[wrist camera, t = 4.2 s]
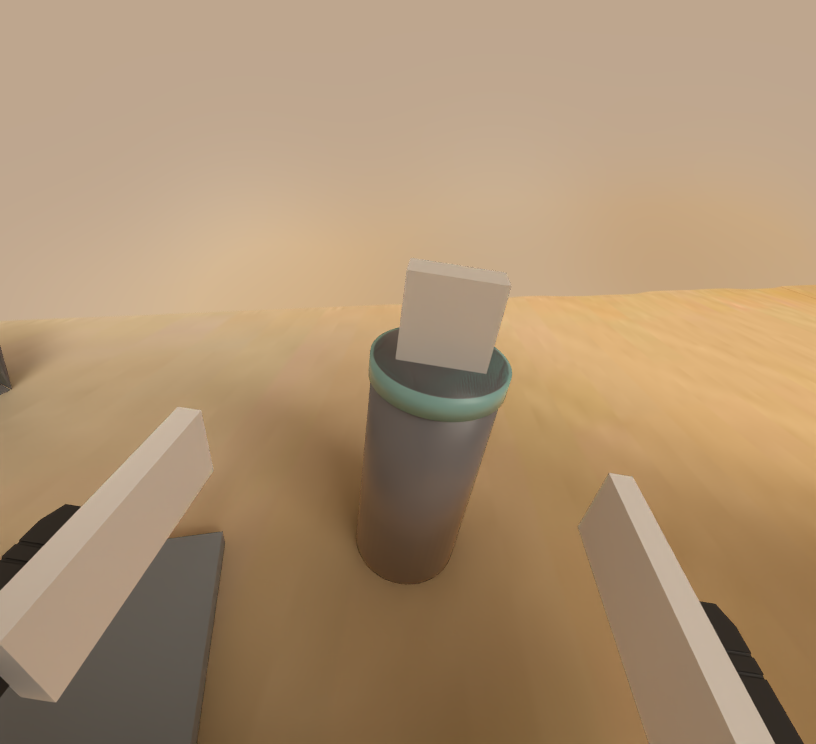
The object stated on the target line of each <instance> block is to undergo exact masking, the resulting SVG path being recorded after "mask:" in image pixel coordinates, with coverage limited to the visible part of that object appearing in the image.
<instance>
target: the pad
mask: <svg viewBox="0 0 816 744" xmlns="http://www.w3.org/2000/svg"><path fill="white" fill-rule="evenodd" d="M224 545H225V541H224V536H223V531H222V532H215V533H207V534H200V535H192V536H185V537H177V538H170V539H167V540H166V542H165V543H164V545H163V546H162V547H161V549H160V550H159V552H158V553H157V555H156V556H155V558H154V559H153V561H152V562H151V564H150V565H149V567H148V568H147V570H146V571H145V572H144V574H143V575H142V577H141V578H140V580H139V581H138V583H137V584H136V586H135V587H134V589H133V590H132V592H131V593H130V595H129V596H128V598H127V599H126V600H125V602H124V603H123V605H122V606H121V608H120V609H119V611H118V612H117V614H116V615H115V617H114V618H113V620H112V621H111V623H110V624H109V626H108V627H107V628H106V630H105V631H104V633H103V634H102V636H101V637H100V639H99V640H98V642H97V643H96V645H95V646H94V648H93V649H92V651H91V652H90V653H89V655H88V656H87V658H86V659H85V661H84V662H83V664H82V665H81V667H80V668H79V670H78V671H77V673H76V674H75V676H74V677H73V679H72V680H71V681H70V683H69V684H68V686H67V687H66V689H65V690H64V692H63V693H62V695H61V696H60V698H59V699H58V701H57V702H56V703H55V702H49V701H42V700H36V699H29V698H23V697H20V696H19V695H18V694H17V693H16V692H15V691H14V690H13V689H11V688H10V687H8V688H7V690H6V691H5V692H4V693H3V695H2V696H1V697H0V744H197V737H198V730H199V723H200V716H201V709H202V702H203V694H204V687H205V680H206V673H207V666H208V659H209V652H210V645H211V638H212V631H213V623H214V616H215V609H216V602H217V595H218V588H219V581H220V574H221V567H222V560H223V553H224Z"/></svg>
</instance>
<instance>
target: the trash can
mask: <svg viewBox="0 0 816 744" xmlns="http://www.w3.org/2000/svg"><path fill="white" fill-rule="evenodd" d="M510 289H511V284H510V281H509V278H508V276H507V273H504V272H498V271H492V270H485V269H479V268H473V267H466V266H459V265H453V264H447V263H441V262H434V261H428V260H421V259H415V258H411V259H410V262H409V265H408V268H407V273H406V281H405V288H404V296H403V304H402V312H401V320H400V327H399V328H395V329H392V330H389V331H387V332H385V333H383V334H382V335H380V336H379V337H378V338H377V339H376V340H375V341H374V342H373V344H372V346H371V350H370V360H369V379H370V393H369V404H368V415H367V426H366V437H365V448H364V458H363V469H362V480H361V491H360V502H359V513H358V524H357V546H358V549H359V552H360V555H361V557H362V558H363V560H364V562H365V563H366V564H367V565H368V567H369V568H370V569H371V570H372V571H373V572H375V573H376V574H378V575H379V576H380V577H382V578H384V579H386V580H389V581H392V582H395V583H399V584H416V583H421V582H424V581H427V580H429V579H431V578H433V577H435V576H436V575H438V574H439V573H440V572H441V571H442V570H443V569H444V567H445V566H446V564H447V563H448V561H449V559H450V556H451V553H452V550H453V547H454V544H455V541H456V538H457V535H458V532H459V529H460V525H461V522H462V519H463V516H464V513H465V510H466V507H467V504H468V501H469V498H470V494H471V491H472V488H473V485H474V482H475V479H476V476H477V473H478V470H479V467H480V464H481V460H482V457H483V454H484V451H485V448H486V445H487V442H488V439H489V436H490V433H491V430H492V426H493V423H494V420H495V417H496V414H497V411H498V408H499V407H500V406H501V405H502V403H503V401H504V399H505V396H506V393H507V390H508V387H509V384H510V381H511V378H512V369H511V366H510V364H509V362H508V360H507V359H506V357H505V356H504V355H503V354H502V353H501V352H500V351H499V350H498V349H497V348H495V347H494V345H495V342H496V338H497V335H498V331H499V328H500V324H501V321H502V317H503V314H504V310H505V307H506V303H507V300H508V296H509V293H510Z"/></svg>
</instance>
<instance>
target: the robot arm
mask: <svg viewBox="0 0 816 744" xmlns="http://www.w3.org/2000/svg"><path fill="white" fill-rule="evenodd" d="M213 471H214V469H213V465H212V460H211V455H210V450H209V445H208V440H207V435H206V430H205V425H204V421H203V416H202V411H201V410H197V409H190V408H184V407H177V408H176V409H175V410H174V411H173V412H172V413H171V414H170V415H169V416H168V417H167V418H166V419H165V420H164V421H163V422H162V423H161V424H160V425H159V427H158V428H157V429H156V430H155V431H154V432H153V433H152V434H151V435H150V436H149V437H148V438H147V439H146V440H145V441H144V442H143V443H142V444H141V445H140V446H139V447H138V448H137V449H136V450H135V451H134V452H133V454H132V455H131V456H130V457H129V458H128V459H127V460H126V461H125V462H124V463H123V464H122V465H121V466H120V467H119V468H118V469H117V470H116V471H115V472H114V473H113V474H112V475H111V476H110V477H109V478H108V479H107V480H106V482H105V483H104V484H103V485H102V486H101V487H100V488H99V489H98V490H97V491H96V492H95V493H94V494H93V495H92V496H91V497H90V498H89V499H88V500H87V501H86V502H85V503H84V504H83V505H82V506H81V507H80V506H74V505H67V504H65V505H64V506H62V507H60V508H59V509H57V510H55V511H54V512H52V513H51V514H49V515H47V516H46V517H44V518H43V519H41V520H40V521H39V522H37V523H36V524H35V525H34V526H33V527H32V528H31V529H30V530H29V531H28V532H27V533H26V534H25V535H24V536H23V537H22V538H21V539H20V540H19V543H18V544H15V545H14V546H13V547H12V548H11V549H9V550H8V551H7V552H6V553H5V554H4V555H3V556H2V559H1V560H0V697H1V696H2V695H3V693H4V692H5V691H6V690H7V688H8V687H10V688H11V689H13V690H14V691H15V692H16V693H17V694H18V695H19V696H20V697H23V698H29V699H36V700H42V701H49V702H55V703H56V702H57V701H58V699H59V698H60V696H61V695H62V693H63V692H64V690H65V689H66V687H67V686H68V684H69V683H70V681H71V680H72V679H73V677H74V676H75V674H76V673H77V671H78V670H79V668H80V667H81V665H82V664H83V662H84V661H85V659H86V658H87V656H88V655H89V653H90V652H91V651H92V649H93V648H94V646H95V645H96V643H97V642H98V640H99V639H100V637H101V636H102V634H103V633H104V631H105V630H106V628H107V627H108V626H109V624H110V623H111V621H112V620H113V618H114V617H115V615H116V614H117V612H118V611H119V609H120V608H121V606H122V605H123V603H124V602H125V600H126V599H127V598H128V596H129V595H130V593H131V592H132V590H133V589H134V587H135V586H136V584H137V583H138V581H139V580H140V578H141V577H142V575H143V574H144V572H145V571H146V570H147V568H148V567H149V565H150V564H151V562H152V561H153V559H154V558H155V556H156V555H157V553H158V552H159V550H160V549H161V547H162V546H163V545H164V543H165V542H166V540H167V539H168V537H169V536H170V534H171V533H172V531H173V530H174V528H175V527H176V525H177V524H178V522H179V521H180V519H181V518H182V517H183V515H184V514H185V512H186V511H187V509H188V508H189V506H190V505H191V503H192V502H193V500H194V499H195V497H196V496H197V494H198V493H199V492H200V490H201V489H202V487H203V486H204V484H205V483H206V481H207V480H208V478H209V477H210V475H211V474H212V472H213ZM578 529H579V532H580V535H581V538H582V541H583V545H584V548H585V551H586V554H587V557H588V560H589V563H590V566H591V569H592V572H593V575H594V578H595V581H596V584H597V587H598V590H599V593H600V596H601V599H602V602H603V606H604V609H605V612H606V615H607V618H608V621H609V624H610V627H611V630H612V633H613V636H614V639H615V642H616V645H617V648H618V651H619V654H620V657H621V660H622V663H623V667H624V670H625V673H626V676H627V679H628V682H629V685H630V688H631V691H632V694H633V697H634V700H635V703H636V706H637V709H638V712H639V715H640V718H641V721H642V725H643V728H644V731H645V734H646V737H647V740H648V743H649V744H804V743H803V742H802V740H801V738H800V736H799V735H798V733H797V731H796V730H795V728H794V726H793V724H792V723H791V721H790V719H789V718H788V716H787V714H786V712H785V711H784V709H783V707H782V705H781V704H780V702H779V700H778V699H777V697H776V695H775V693H774V692H773V690H772V688H771V686H770V685H769V683H768V681H767V680H765V679H764V678H763V673H762V671H761V669H760V667H759V666H758V664H757V662H756V661H755V659H754V658H752V657H751V652H750V650H749V648H748V647H747V645H746V643H745V642H744V640H743V638H742V636H741V635H740V633H739V631H738V629H737V628H736V626H735V625H734V624H733V623H732V622H731V621H730V620H729V619H728V617H727V616H726V615H725V614H724V613H723V612H722V611H721V610H720V608H719V607H718V606H717V605H716V604H713V603H706V602H700V601H699V600H698V598H697V596H696V594H695V592H694V590H693V589H692V587H691V585H690V583H689V581H688V579H687V577H686V575H685V574H684V572H683V570H682V568H681V566H680V564H679V562H678V560H677V559H676V557H675V555H674V553H673V551H672V549H671V547H670V545H669V544H668V542H667V540H666V538H665V536H664V534H663V532H662V530H661V529H660V527H659V525H658V523H657V521H656V519H655V517H654V515H653V514H652V512H651V510H650V508H649V506H648V504H647V502H646V500H645V499H644V497H643V495H642V493H641V491H640V489H639V487H638V485H637V483H636V482H635V480H634V478H633V477H632V476H626V475H619V474H613V473H609V474H608V475H607V477H606V479H605V481H604V482H603V484H602V486H601V488H600V489H599V491H598V493H597V494H596V496H595V498H594V500H593V501H592V503H591V505H590V506H589V508H588V510H587V512H586V513H585V515H584V517H583V518H582V520H581V522H580V524H579V525H578Z"/></svg>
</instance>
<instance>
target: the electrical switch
mask: <svg viewBox="0 0 816 744" xmlns="http://www.w3.org/2000/svg"><path fill="white" fill-rule="evenodd" d="M1 384H2V385H1ZM3 385H4V386H6V387H8V388H10V389H12V388H11V384H10V380H9V377H8V373H7V369H6V365H5V362H4V358H3V354H2V350H1V347H0V395H1V394H3V393H5V392H7V391H9V389H8V388H6V387H4V386H3Z"/></svg>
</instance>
